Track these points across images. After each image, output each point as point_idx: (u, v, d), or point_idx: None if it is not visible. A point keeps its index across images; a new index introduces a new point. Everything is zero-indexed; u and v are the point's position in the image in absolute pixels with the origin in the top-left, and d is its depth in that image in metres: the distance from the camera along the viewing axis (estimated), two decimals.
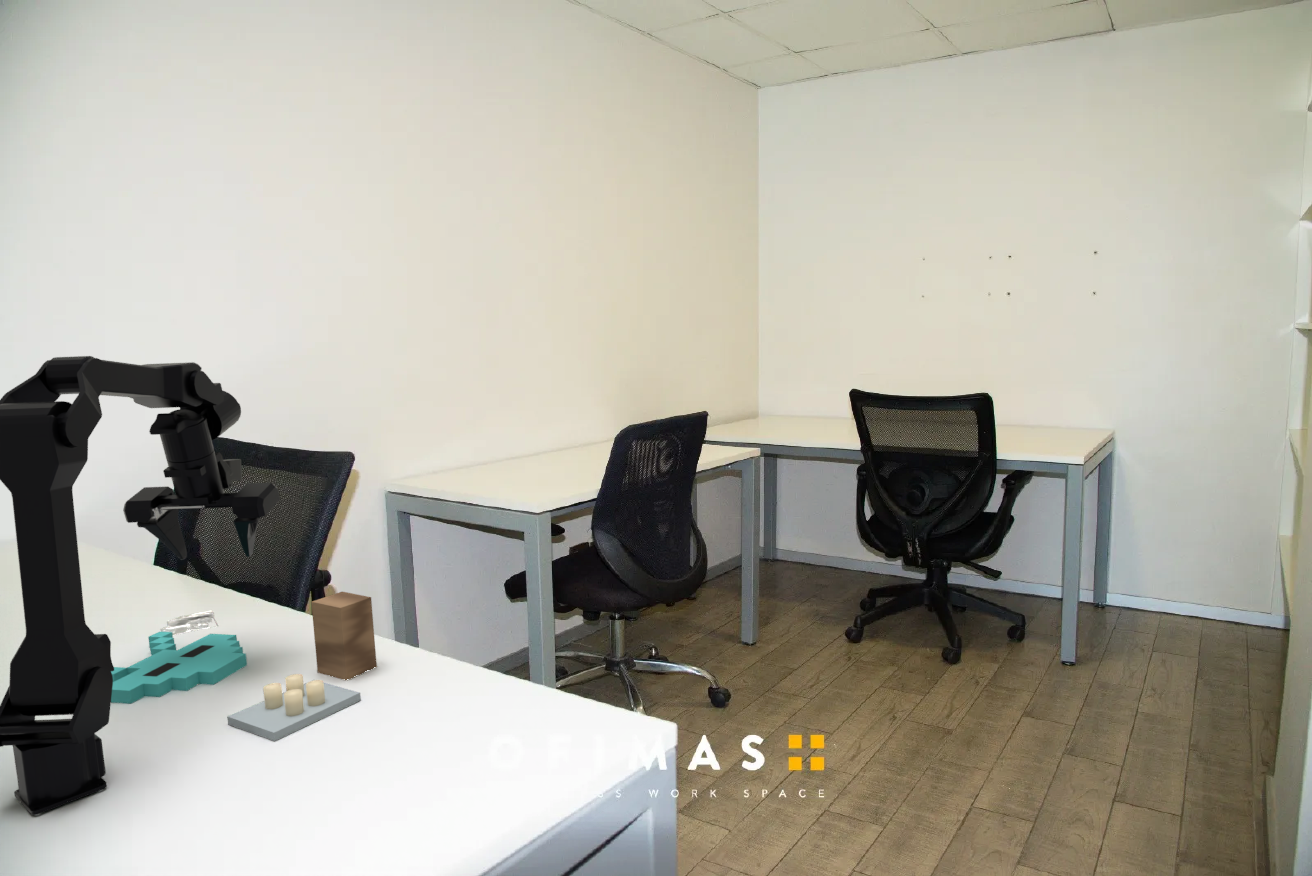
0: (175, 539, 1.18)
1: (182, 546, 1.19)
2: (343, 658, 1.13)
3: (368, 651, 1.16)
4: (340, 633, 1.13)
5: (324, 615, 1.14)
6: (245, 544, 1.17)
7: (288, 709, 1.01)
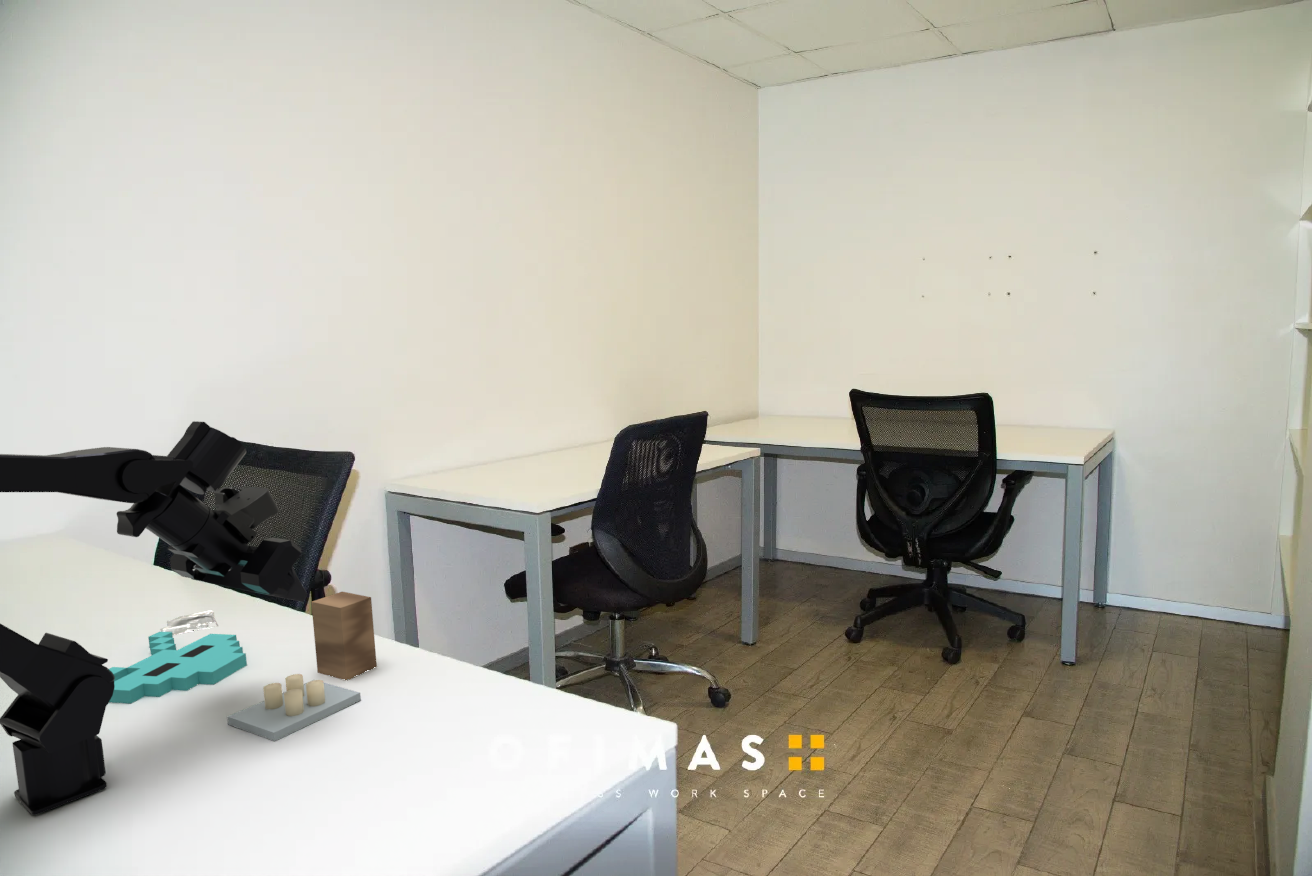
0: (237, 580, 1.08)
1: None
2: (343, 658, 1.13)
3: (368, 651, 1.16)
4: (340, 633, 1.13)
5: (324, 615, 1.14)
6: (287, 598, 1.03)
7: (288, 709, 1.01)
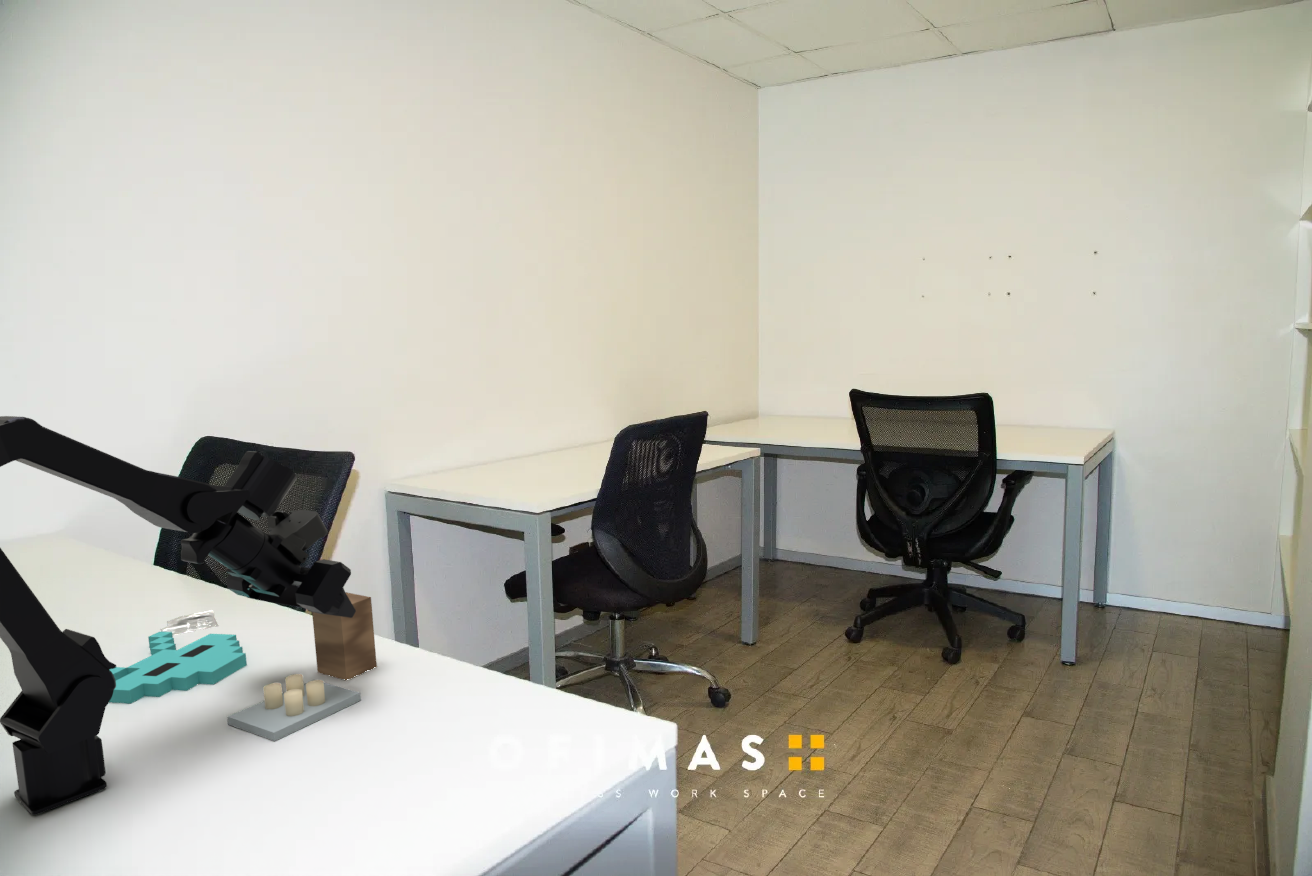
0: (288, 597, 1.14)
1: None
2: (343, 658, 1.13)
3: (368, 651, 1.16)
4: (340, 633, 1.13)
5: (324, 615, 1.14)
6: (337, 615, 1.09)
7: (288, 709, 1.01)
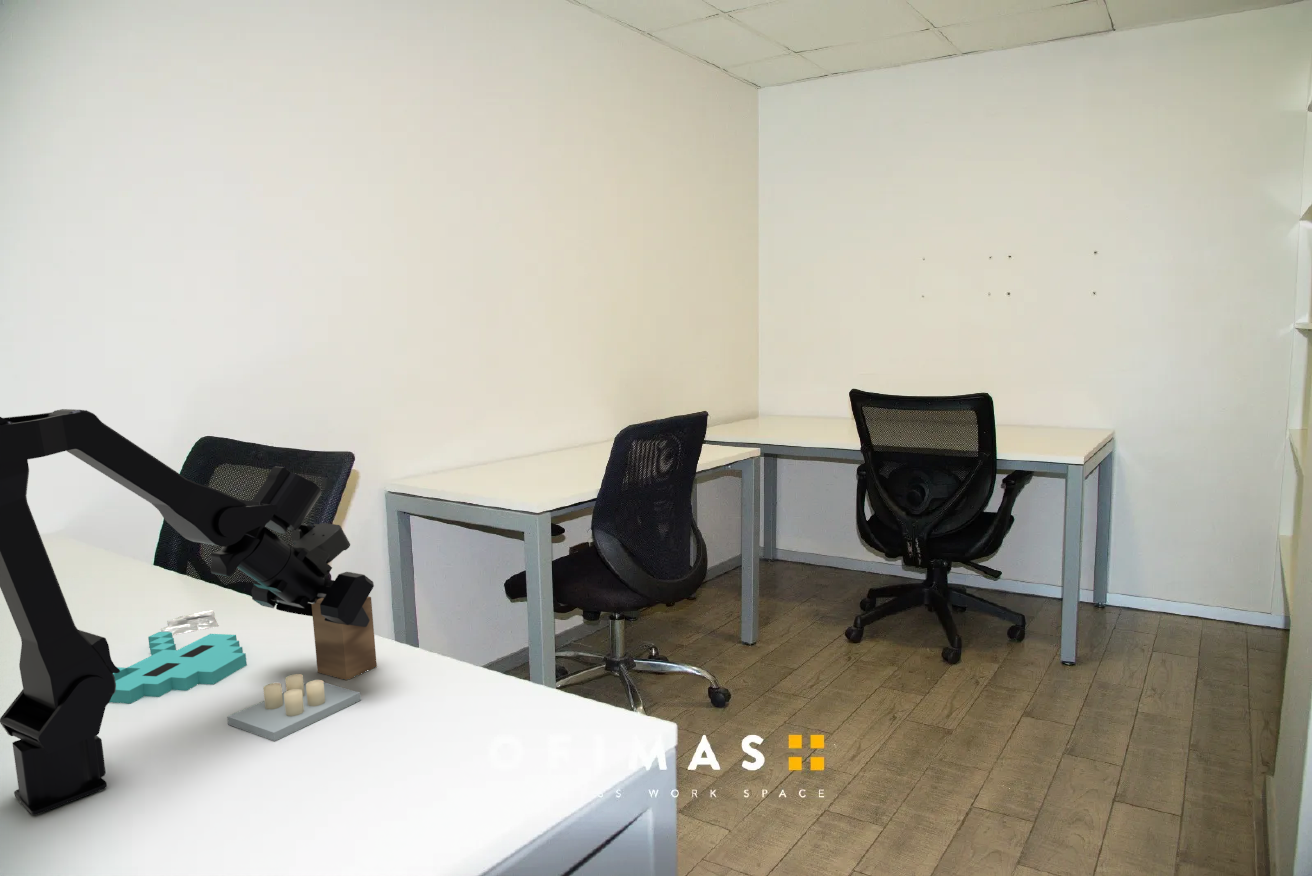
0: None
1: None
2: (343, 657, 1.13)
3: (368, 650, 1.16)
4: (340, 633, 1.13)
5: None
6: None
7: (288, 709, 1.01)
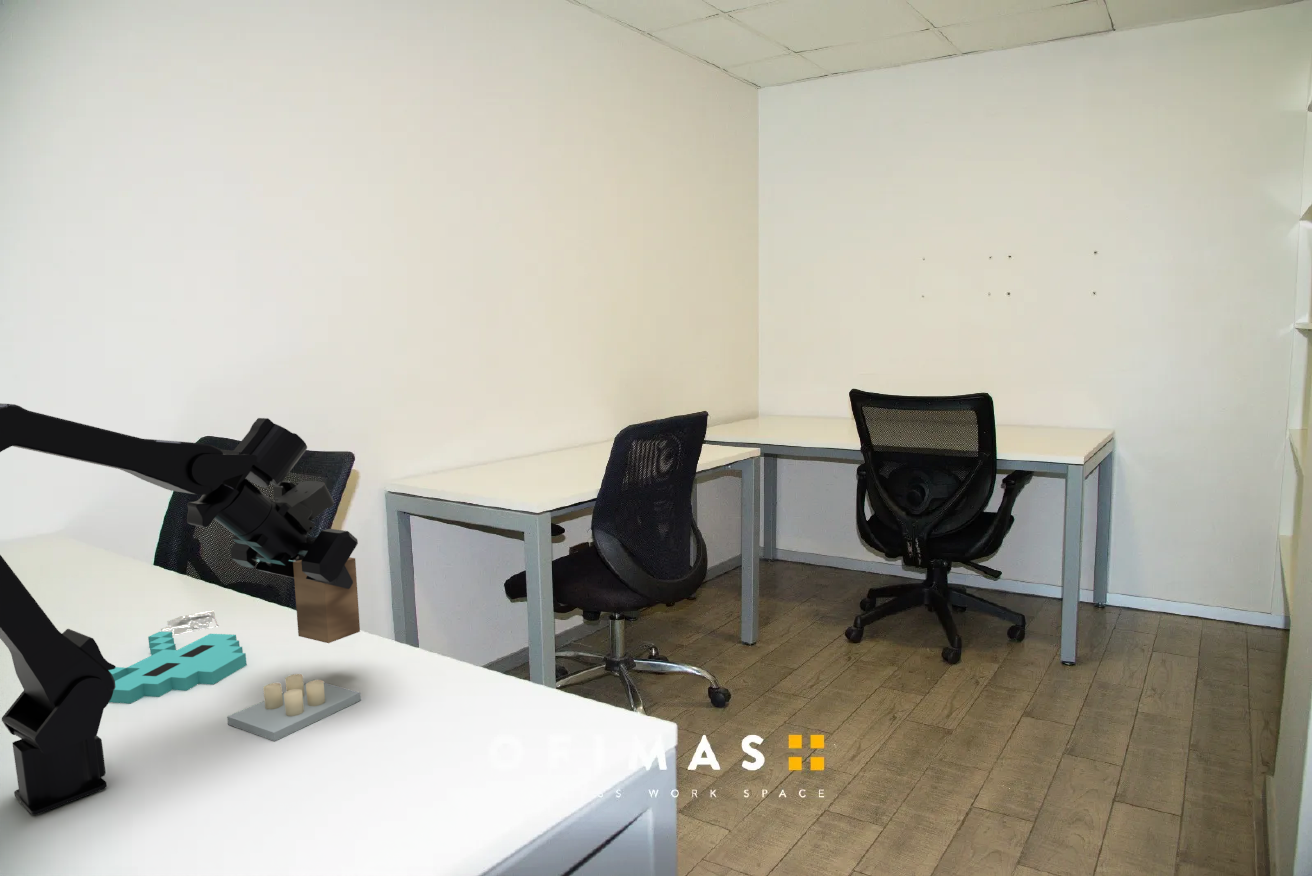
0: None
1: None
2: (325, 619, 1.09)
3: (352, 614, 1.12)
4: (322, 593, 1.09)
5: (306, 575, 1.10)
6: (335, 585, 1.09)
7: (288, 709, 1.01)
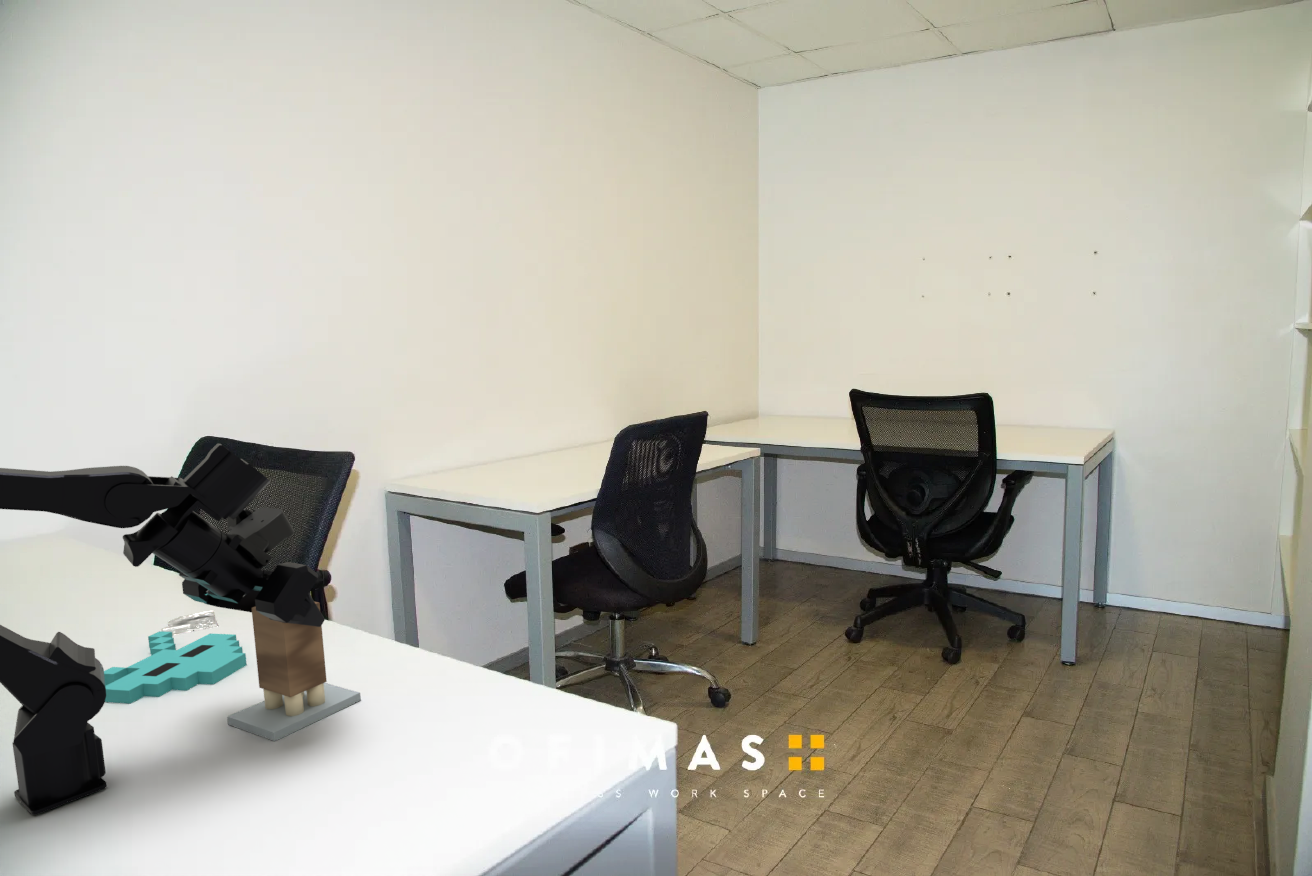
0: (251, 603, 1.04)
1: None
2: (286, 671, 1.00)
3: (317, 663, 1.03)
4: (283, 643, 1.00)
5: (265, 622, 1.01)
6: (303, 624, 0.99)
7: (288, 709, 1.01)
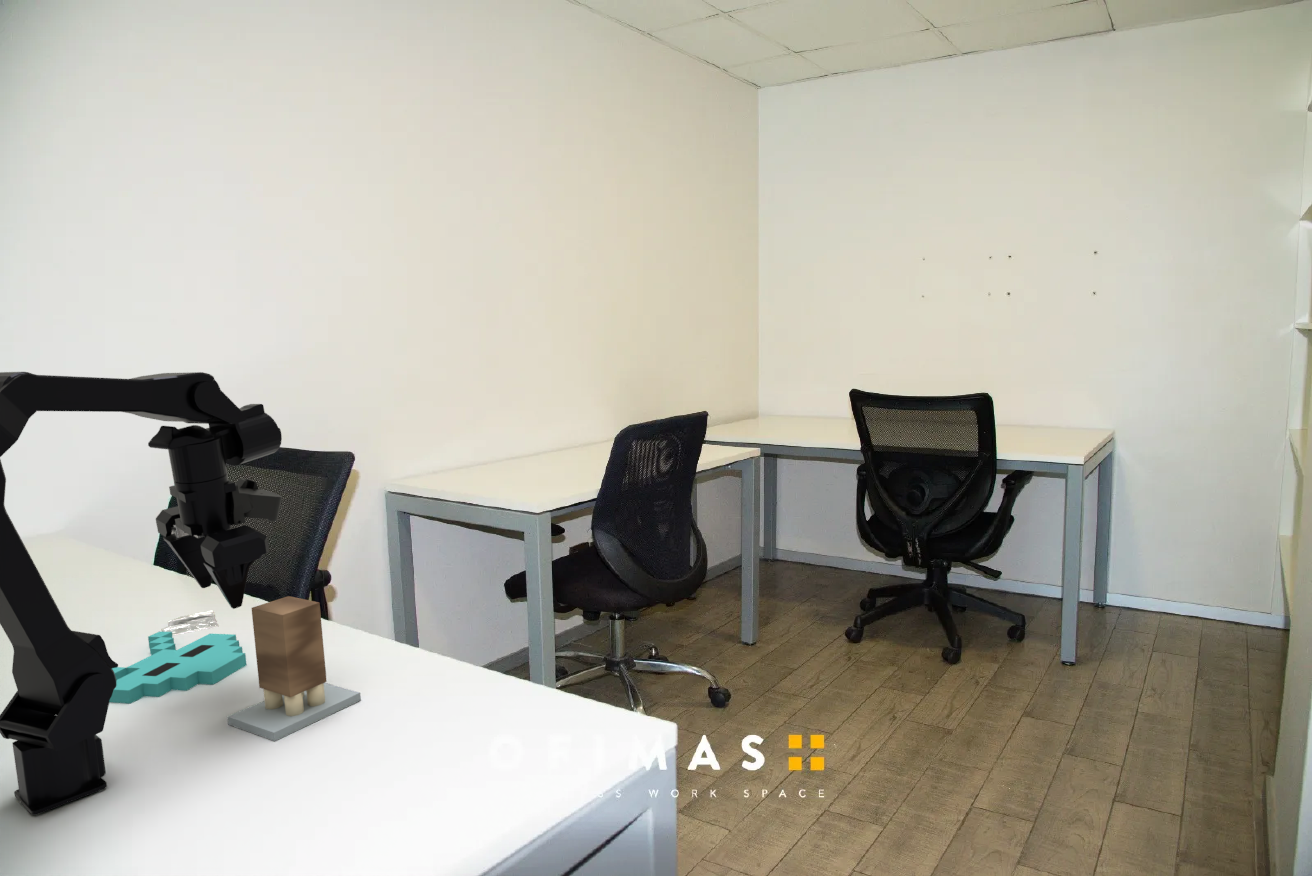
0: (196, 564, 1.07)
1: (204, 573, 1.08)
2: (286, 671, 1.00)
3: (317, 663, 1.03)
4: (283, 643, 1.00)
5: (265, 622, 1.01)
6: (223, 593, 1.01)
7: (288, 709, 1.01)
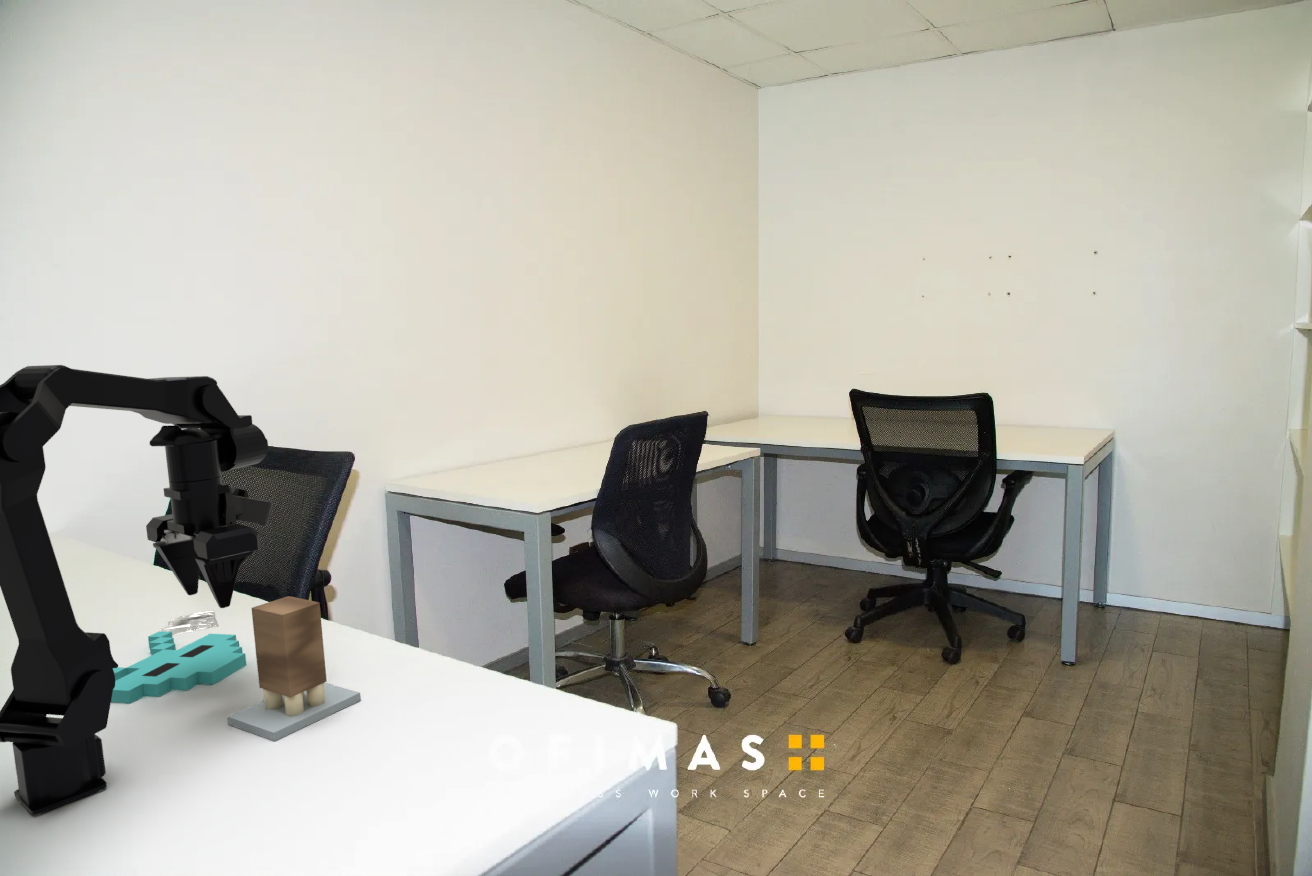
0: (184, 570, 1.09)
1: (192, 580, 1.10)
2: (286, 671, 1.00)
3: (317, 663, 1.03)
4: (283, 643, 1.00)
5: (265, 622, 1.01)
6: (212, 590, 1.02)
7: (288, 709, 1.01)
